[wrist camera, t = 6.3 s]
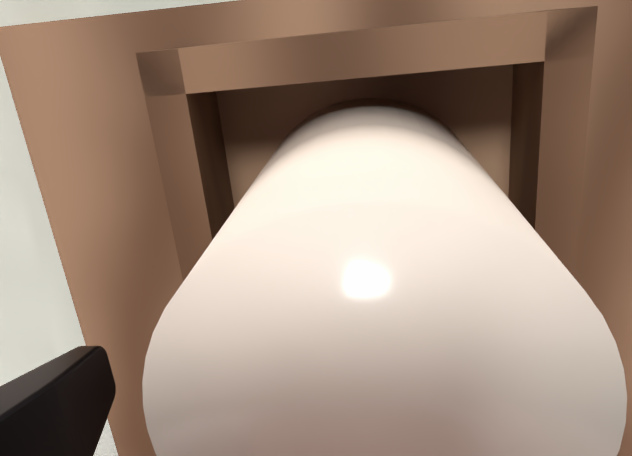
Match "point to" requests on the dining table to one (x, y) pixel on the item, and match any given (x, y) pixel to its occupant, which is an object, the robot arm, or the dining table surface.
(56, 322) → the dining table surface
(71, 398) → the robot arm
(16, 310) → the dining table surface
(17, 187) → the dining table surface
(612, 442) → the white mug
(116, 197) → the dock
